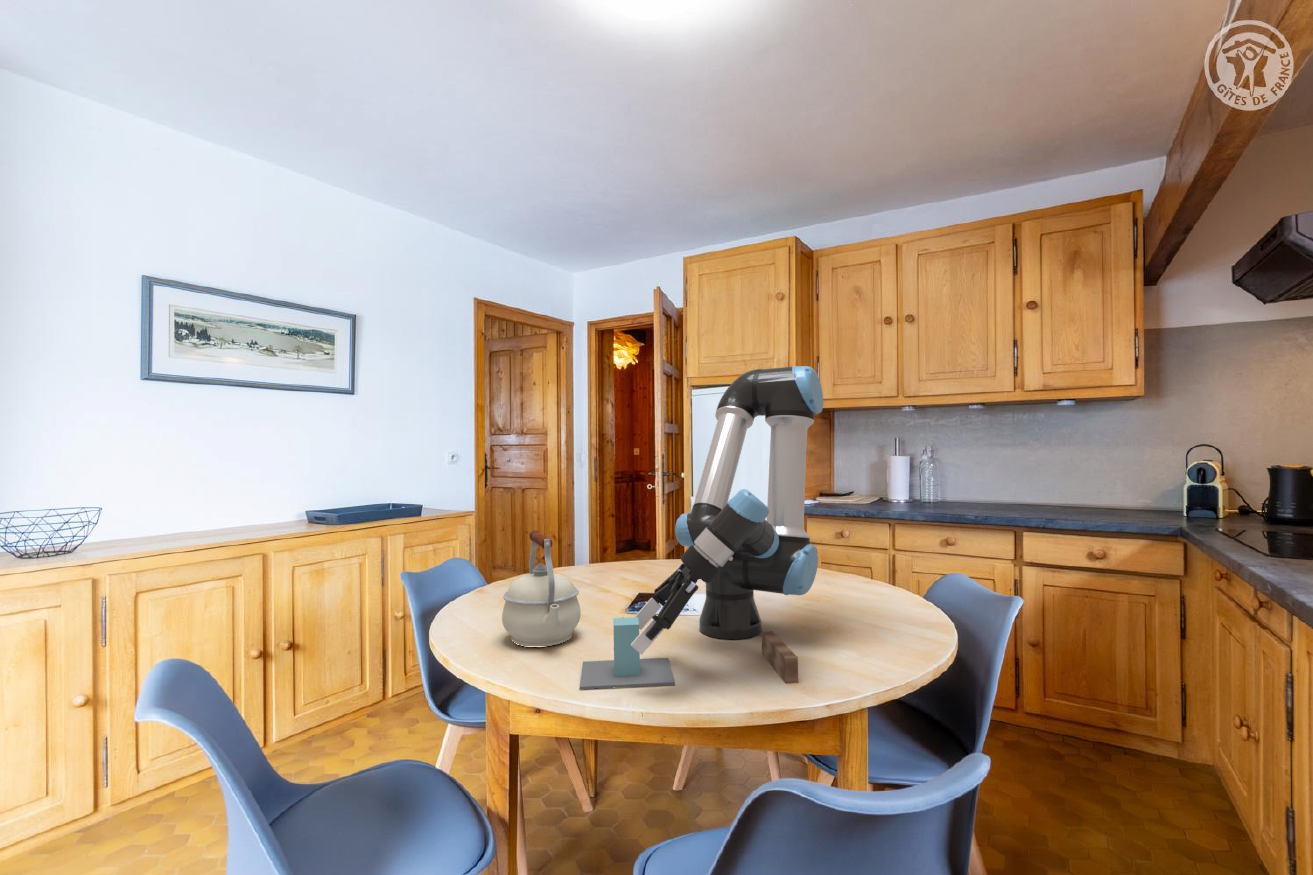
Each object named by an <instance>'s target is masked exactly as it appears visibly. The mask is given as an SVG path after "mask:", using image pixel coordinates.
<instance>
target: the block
mask: <svg viewBox="0 0 1313 875" xmlns="http://www.w3.org/2000/svg"><path fill="white" fill-rule="evenodd" d="M612 625H613V660H614V676H615V677H622V676H640V659H641V658H640V656H641V654H640V653H639V652H638V651H637V650H636V649H634V648H633V647H632V646H631V643H632V642H633V641H634V640H635V639H636V638H637V637H638V635H639V634H640V629H639V621H638V617H635V616H633V617H613V624H612Z"/></svg>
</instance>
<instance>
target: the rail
mask: <svg viewBox="0 0 1313 875" xmlns="http://www.w3.org/2000/svg"><path fill="white" fill-rule="evenodd" d="M761 654H762V656H763V658H765V660H766V661H767V662H768V664H770V665H771V667H772V668H773V670H775V672H776V673H777V674H778V675H779V677H780V678H781V679H782V680H783V682H784V683H785V684H798V683H799V663H798V662H799V659H798V656H797V655H796V654H795V653H794V651H792V650H791V649H790V648H789V646H788V645H786V643H784V642H783V641H782V640H781V638H780V637H779V636H777V634H776V633H775V632H774V631H773V630H770V631H767V630H766V631H761Z"/></svg>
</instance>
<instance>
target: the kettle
mask: <svg viewBox="0 0 1313 875" xmlns="http://www.w3.org/2000/svg"><path fill="white" fill-rule="evenodd" d="M529 539H530V541H531V549H530V555H529V562H528V563H529V564H528V570H529V571H528V572H529V574H526V575H523V576H521V577H519V578H517V579H515V580H513V582H512V583H511V584H510V585H509V587H508V589H507V591H506V592H505V593H504V594H503V596H502V597H503V600H505V602H504V605H503V609H502V614H501V615H502V616H501V621H502V626H503V628H504V629H505V631H506V633H508V634H509V635H510V636H511V641H512V640H513V641H514V642H515V643H517V644H519V645H523V646H552V645H556V644H560V643H562V644H564V643H563V642H565V641H566V642H568V641H569V640H571V638H573V637H572V636H573V631H574V630H575V629H576V627H577V626H578V624H579V622H580V619H581V607H580V603H579V600H578V595H579V594H580V593H579V592H580V591H579V589H578V588H577V587H575V585H574V583H573V581H572V580H571V579H570V578H568V577H567V576H565V575H562V574H559V573H555V572H554V568H553V562H552V553H551V548H552V546H553V540H552V539H551V538H550V537H547V536H546V535H544V534H543V533H541V532H539V530H532V531H531V532H530V533H529ZM538 546H539V547H541V548H542V549H543V550H544V561H545V562H544V563H545V564H544V563H541V562H540V563H538V564H537V565H535V564H536V563H535V562H536V555H537V550H538V549H537V548H538ZM567 640H568V641H567ZM566 642H565V643H566ZM560 645H561V644H560ZM556 646H557V645H556ZM552 647H553V646H552Z"/></svg>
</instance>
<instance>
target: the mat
mask: <svg viewBox="0 0 1313 875" xmlns="http://www.w3.org/2000/svg"><path fill="white" fill-rule="evenodd" d="M670 662H671V661H670V660H669V657H651V658H650V657H649V658H640V676H622V677H615V676H614V659H607V660H588V661H586V660H585V661H584V660H583V661H582V667H581V673H580V682H579V690H580V689H590V690H592V689H591V688H611V689H614V688H613V687H631V688H646V687H645V686H651V687H664V686H663V685H672V686H676V681H675V679H674V678H675V677H674V674H673V669H672V666H671V663H670Z"/></svg>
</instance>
